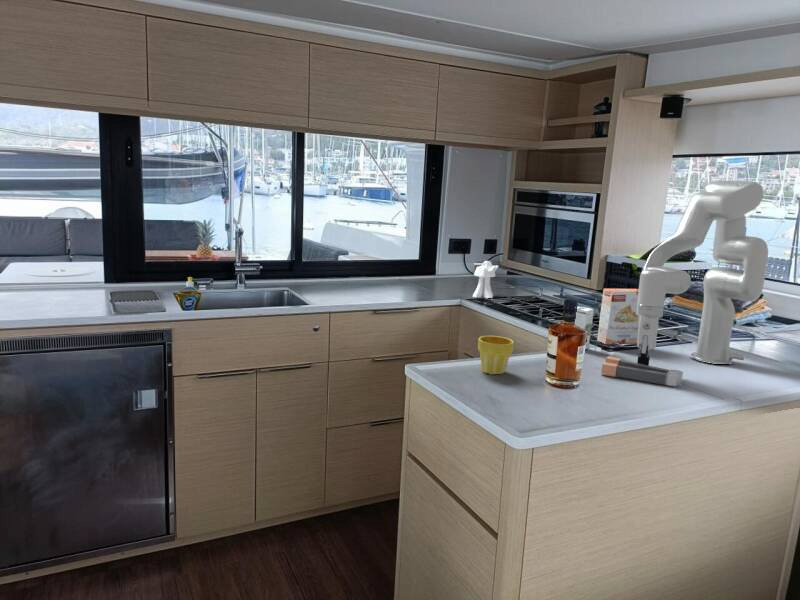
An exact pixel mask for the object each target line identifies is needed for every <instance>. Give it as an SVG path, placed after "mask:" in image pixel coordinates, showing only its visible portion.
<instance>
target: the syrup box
mask: <svg viewBox="0 0 800 600" xmlns="http://www.w3.org/2000/svg"><path fill="white" fill-rule="evenodd" d="M594 312H595V311H594V309H593V308H590V307H586V306H577V312H576V319H575V325H576V326H578V327H580V328H582V329H585V330H586V331H587V342H586V349H587V350H589V349H590V341H591V334H592V325H593V319H594V318H593V317H594ZM588 348H589V349H588Z"/></svg>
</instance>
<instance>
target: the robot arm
mask: <svg viewBox="0 0 800 600" xmlns="http://www.w3.org/2000/svg"><path fill="white" fill-rule="evenodd" d="M703 189H704V190H703V191H700V192H697V193H695V194H693V195H692V196H691V198H689V201H688V204H687V206H686V208H685V210H684V213H683V214H682V217H680V221H679V223H678V226H677V227H676V229H675V231H674V233H673V234H671V236H669V237H668V238H666V239H664V240H663V241H662V242H661V243H660V244H659V245H658V246H656V247H655V248H654V249H653V250H652V251H651V252H650V254H649V256H648V257H647V260H646V262H645V264H644V266H643V268H642V271H641V272H640V275H639V284H638V289H639V291H638V299H637V307H636V314H637V315H639V316H640V318H639V327H638V339H637V347H638V348H637V349H639V351H638V356H637V362H636V363H639V364H644V365H648V366H650V358H651V356H650V351H651V350H652V351H655V349H656V346H657V337H658V330H659V318H663V315H664V310H665V309H664V306H665V302H666V301H665V299H666V294H671V295H680V294H683V293H685V292H687V291H688V290H689V289H690V286H691V284H692V279H691V276H690V274H689V273H688V272H687V271H685V270H682V269H678V268H672V267H667V266H664V265H665V264H666V262H668V260H670V258H672V257H673V256H675V255H678V254H681V253H684V252H686V251H689V250H693V249H696V248H698V247H700V246H702V245H703V243H704V242H705V239H706V237H707V235H708V232H709V230H710V228H711V226H712V224H713V222H714V221H715V230H714V237H713V238H714V239H713V244H712V257H713V259H714V261H716V262H718V263H721V264H726V265H733V266H739V267H740V266H741V267H743V270H742V269H738V268H730V267H721V266H716V267H715V266H714V267H712V268H710V269H708V270H707V271H706V272H705V274H704V276H703V280H702V281H703V283H702V285H703V286H702V287H703V305H702V311H701V316H700V317H701V318H700V324H699V325H700V326H699V331H698V338H697V345H696V351H694V352H691V353H690V357H691V356H692V357H693V358H695V359H698V360H701V361H705V362H710V363H715V364H730V363H732V364H733V359H735V360H740V361H744V359H745V354H744V353H743V354H742V353H739V352H733V351H732V350H731V349H730V346H731V345H730V344H731V337H732V334H733V333H732V332H733V327H734V326H733V325H734V320H735V314H736V313H735V312H736V311H735V305H734V303H733V300H740V301H743V302H744V301H745V302H754V301H756V300H759V297H760V296H762V292H763V289H764V284H765V278H766V271H767V264H768V259H769V248H768V244H767V242H766V241H765V240H764V239H763V238H761V237H757V236H750V235H749V236H748V235H746V225H747V219H746V218H747V217H746V214H748V213H750V212H751V211H754V210H755V209H756V208H758V207H759V206H760V204H761V203H762V202H763V201H762V200H763V198H764V188H763V187H762V185H761V184H760V182H759V183H758V182H756V181H752V180H751V181H749V180H746V181H745V180H738V181H737V180H715V181H710V182H709V183H706V185H705V186H704V188H703ZM732 299H733V300H732ZM730 365H731V364H730Z"/></svg>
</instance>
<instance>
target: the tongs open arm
mask: <svg viewBox="0 0 800 600" xmlns="http://www.w3.org/2000/svg"><path fill="white" fill-rule="evenodd" d="M604 362H607V363H613V364H617V365H619V366H625V367H632V368H638V369H644V370H651V371H657V372H663V373H669V370H670V369H666V368H662V367H658V366H657V367H656V366H652V365H649V366H648V365H644V364H639V363H637V362H634V361H629V360H625V359H624V360H623V359H622V358H619V357H614V356H610V355H609V356H607V357H605V361H604Z"/></svg>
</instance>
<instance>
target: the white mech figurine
mask: <svg viewBox="0 0 800 600" xmlns="http://www.w3.org/2000/svg"><path fill="white" fill-rule="evenodd" d="M478 265H479V266H478ZM473 266H476V269H475V270H474V273H473V276H475V277H478V283H477V287H476V288H475V290H474V292H473V294H472V298H474V297H475V299H476V298H477V297H479V298H484V297H485V298H484V299H488V298H492V299H493V297H494V293H493V290H492V287H491V278H495V277H496V273H495V272H496V271H497V269H499V268H500V267H499V265H497V264H496V265H493V264H492V262H491V261H490V260H485V261H483V263H482V262H479V263H478V262H474V263H473ZM477 299H478V298H477Z"/></svg>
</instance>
